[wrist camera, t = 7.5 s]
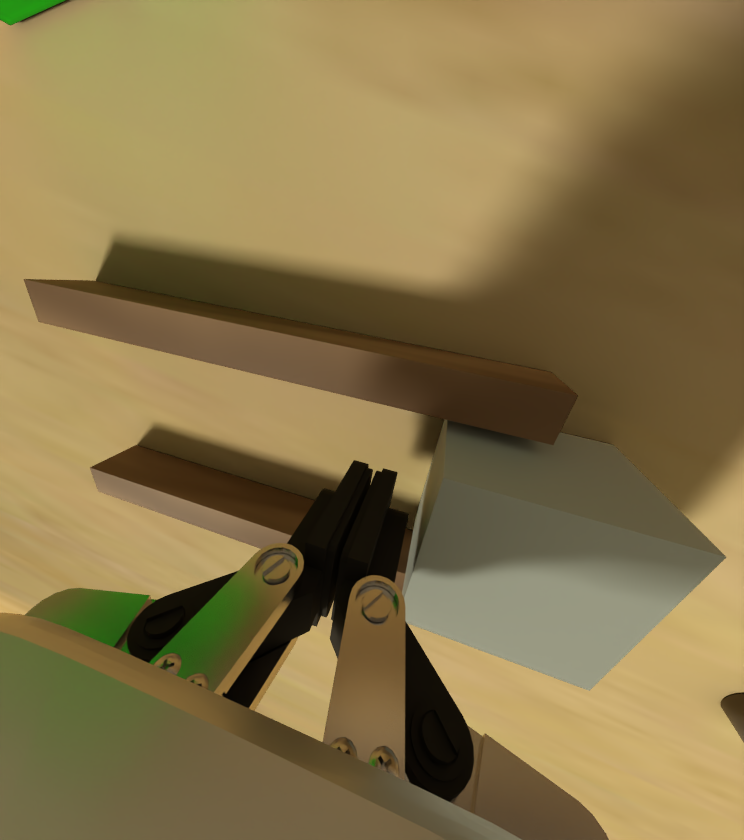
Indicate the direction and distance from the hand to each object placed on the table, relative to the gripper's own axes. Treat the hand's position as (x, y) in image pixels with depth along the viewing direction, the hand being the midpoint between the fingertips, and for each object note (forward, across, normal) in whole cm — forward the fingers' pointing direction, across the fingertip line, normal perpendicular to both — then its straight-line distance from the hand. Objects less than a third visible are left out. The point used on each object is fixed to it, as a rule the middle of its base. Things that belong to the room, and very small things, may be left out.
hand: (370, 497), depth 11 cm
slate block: (+3, -5, 0) cm, 6 cm away
